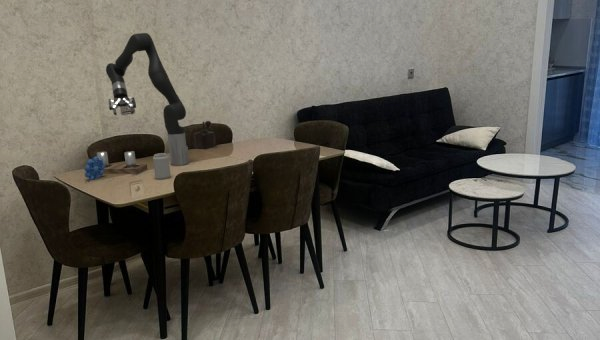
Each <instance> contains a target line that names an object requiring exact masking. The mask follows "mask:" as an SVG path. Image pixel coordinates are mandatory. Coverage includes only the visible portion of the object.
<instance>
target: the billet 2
mask: <svg viewBox="0 0 600 340" xmlns="http://www.w3.org/2000/svg"><path fill="white" fill-rule="evenodd" d="M123 153H124V159H125V164H126V168H135V167H136V164H137V161H136V154H135V151H133V150H131V151H125V152H123Z"/></svg>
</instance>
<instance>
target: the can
mask: <svg viewBox="0 0 600 340" xmlns="http://www.w3.org/2000/svg"><path fill="white" fill-rule="evenodd" d="M152 162H153V169H154V172H153V173H154V178H156V179H157V180H166V179H169V178H170V176H171V168H170V167H171V166H170V165H171V164H170V156H169V155H168V154H167V153H165V152H161V153H155V154H153V158H152Z"/></svg>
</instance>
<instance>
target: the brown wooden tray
mask: <svg viewBox="0 0 600 340" xmlns="http://www.w3.org/2000/svg"><path fill="white" fill-rule="evenodd" d="M108 164H109V167H107V168H104V169H102V170H103V171H104V174H103V175H106V174H107V175H108V174H109V175H116V174H117V175H125V174H126V175H131V176H138V175H139V174H142V173H144V172H146V171H148V170H149V169H148V164H147V163H146V164H145V163H136V167H135V168H126V163H114V164H113V163H108Z"/></svg>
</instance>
